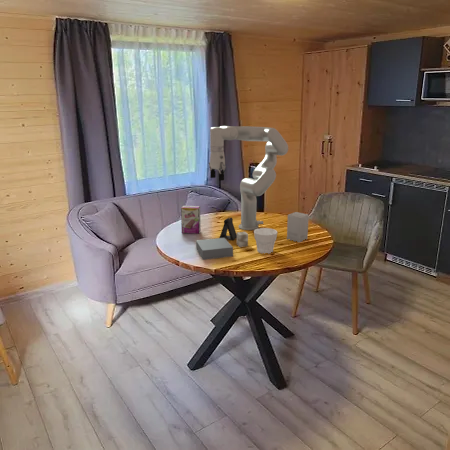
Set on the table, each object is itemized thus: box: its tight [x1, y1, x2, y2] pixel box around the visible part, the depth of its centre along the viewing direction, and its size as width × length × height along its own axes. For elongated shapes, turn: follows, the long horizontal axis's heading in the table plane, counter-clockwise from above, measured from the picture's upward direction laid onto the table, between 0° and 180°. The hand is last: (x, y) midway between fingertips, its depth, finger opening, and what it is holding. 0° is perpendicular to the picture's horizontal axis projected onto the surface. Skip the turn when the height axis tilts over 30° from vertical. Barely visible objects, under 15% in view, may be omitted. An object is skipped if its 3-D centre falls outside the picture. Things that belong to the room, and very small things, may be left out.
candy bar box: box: [180, 205, 201, 235], centre depth 247 cm, size 11×5×16 cm, turn 84°
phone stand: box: [218, 216, 237, 241], centre depth 238 cm, size 9×6×12 cm, turn 66°
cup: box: [253, 227, 278, 255], centre depth 218 cm, size 12×12×11 cm
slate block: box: [195, 237, 234, 260], centre depth 216 cm, size 16×16×5 cm
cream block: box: [236, 231, 249, 248], centre depth 227 cm, size 5×5×7 cm
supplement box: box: [286, 211, 310, 243], centre depth 236 cm, size 9×9×15 cm
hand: (217, 179), depth 238 cm, fingers open, 9 cm apart
